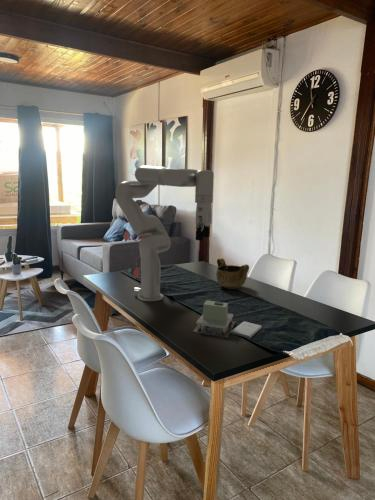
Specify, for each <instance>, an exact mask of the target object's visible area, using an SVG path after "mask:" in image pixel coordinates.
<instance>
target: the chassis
mask: <svg viewBox="0 0 375 500" xmlns="http://www.w3.org/2000/svg"><path fill="white" fill-rule="evenodd" d="M233 318H234V313H229V312H228V315H227V319H226V320H225V322H224V321H217V320H210V319H204V318H203V313H202V315H200V317H199V318H198V319H197V321H196V322H195V323H196V326H195V328H194V329H193V331H192V332H193V333H195V334H203V335H209V336H215V337H220V338H221V337H222V338H226V339H227V338H229V337H230V334H231V333H230V332H231V331H232V330H233V329H234V328H235V325H236V321H233Z"/></svg>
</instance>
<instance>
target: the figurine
mask: <svg viewBox="0 0 375 500" xmlns="http://www.w3.org/2000/svg"><path fill="white" fill-rule="evenodd" d="M136 235H137V234H136ZM147 235H150V234H147ZM147 235H137V236H136V237H139V238H137V239H135V238H134V236H132V234H131V232H130V231H129V230H126V231H124V233H123V241H125V242H128V240H129V239H130V238H132V240H133V241H134V242H137V241H140V240H141V239H142V238H143V237H145V236H147ZM139 257H140V258H141V256H140V255H138V256H137V257H136V259H138V258H139ZM135 266H136V267H135V268H134V270H133V276H134V279H136V278H137V279H138V278H139V277H140V276H141V270H140V269H139V268H138V264H137V261H135Z"/></svg>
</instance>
